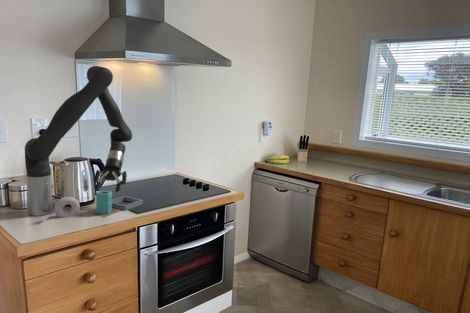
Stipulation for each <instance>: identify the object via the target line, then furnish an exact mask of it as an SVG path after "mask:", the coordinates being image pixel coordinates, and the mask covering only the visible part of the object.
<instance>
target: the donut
mask: <svg viewBox="0 0 470 313" xmlns="http://www.w3.org/2000/svg"><path fill="white" fill-rule="evenodd" d="M67 205H70V206H71V208H70V209H69V210H67V211H65V209H64V207H65V206H67ZM80 209H81V206H80V202H79V201H78V199H76V198H75V197H73V196H64V197H61V198H60V199H58V200H57V201H56V202H55V204H54V209H53V210H54V214H55V215H56V217H58V218H70V217H75V216H77V215H78V214H79V212H80Z"/></svg>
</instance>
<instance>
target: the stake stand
mask: <svg viewBox="0 0 470 313" xmlns="http://www.w3.org/2000/svg"><path fill="white" fill-rule="evenodd" d="M120 212H121V210H119V209H115V208H114V209H113V208H112V211H111V212H110V213H109V214H96V209H95V210H92V211H89V212H88V214H90V215H94V216H97V217H102V218H106V217H109V216H111V215H114V214H115V215H116V214H117V213H120Z"/></svg>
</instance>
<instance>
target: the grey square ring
mask: <svg viewBox="0 0 470 313" xmlns="http://www.w3.org/2000/svg"><path fill="white" fill-rule="evenodd" d="M125 201H126V202H130V203H128V204H121V202H125ZM141 205H144V199H139V198H135V197H131V196H127V195H122V196H120V197H117V198H112V209H113V208H114V209H117V210H122V211H128V210H131V209H133V208H136V207H138V206H141Z"/></svg>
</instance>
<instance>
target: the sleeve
mask: <svg viewBox="0 0 470 313" xmlns="http://www.w3.org/2000/svg"><path fill="white" fill-rule="evenodd" d="M95 196H96V197H95V198H96V203H95V204H96V209H95V210H96V214H109V213H110V212H111V211H112V209H113V207H112V200H113V191H112V190H111V191H110V190H99V191H97V193H96V195H95Z"/></svg>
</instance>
